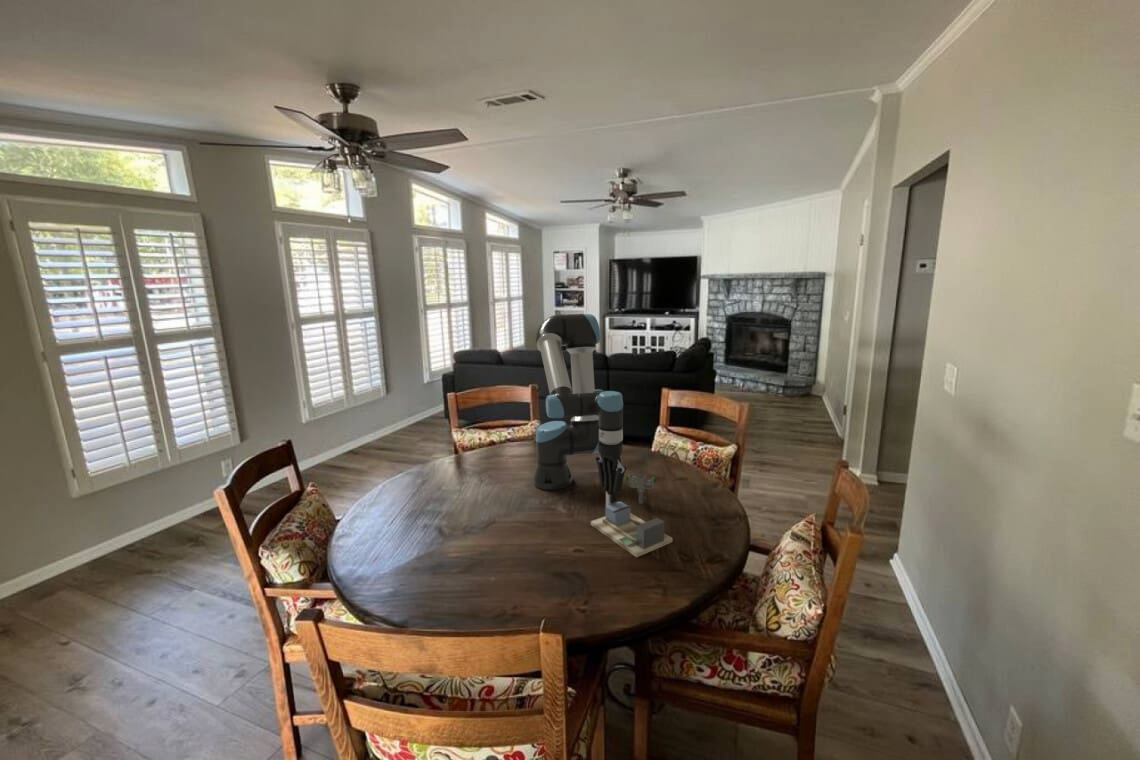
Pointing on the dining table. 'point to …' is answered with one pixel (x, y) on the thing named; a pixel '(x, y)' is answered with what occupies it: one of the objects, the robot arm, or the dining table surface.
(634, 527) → the board
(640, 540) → the dark grey textured box
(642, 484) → the mechanical component
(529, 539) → the dining table surface
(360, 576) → the dining table surface
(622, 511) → the carriage
